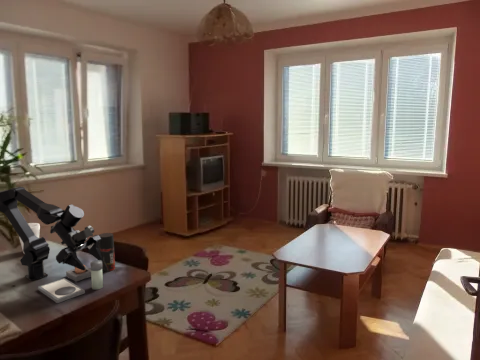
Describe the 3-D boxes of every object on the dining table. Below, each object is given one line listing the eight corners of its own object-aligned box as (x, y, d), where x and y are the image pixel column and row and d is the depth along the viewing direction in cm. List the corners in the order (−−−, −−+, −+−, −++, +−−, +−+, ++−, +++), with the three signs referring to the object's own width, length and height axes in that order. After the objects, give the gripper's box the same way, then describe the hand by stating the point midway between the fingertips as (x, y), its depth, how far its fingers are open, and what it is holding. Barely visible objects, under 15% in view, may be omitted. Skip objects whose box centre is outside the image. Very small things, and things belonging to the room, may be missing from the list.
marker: (89, 287, 142) (88, 262, 141) (99, 283, 146) (98, 259, 144) (95, 290, 140) (94, 265, 138) (105, 287, 143) (104, 262, 141)
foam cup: (28, 248, 186) (25, 222, 183) (46, 248, 185) (43, 223, 182) (15, 254, 176) (12, 228, 174) (33, 255, 175) (31, 228, 173)
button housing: (66, 276, 153) (66, 271, 152) (85, 270, 159) (84, 265, 158) (75, 281, 148) (75, 276, 147) (94, 275, 154) (94, 270, 153)
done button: (73, 272, 153) (72, 266, 152) (82, 269, 156) (82, 263, 155) (78, 275, 150) (77, 269, 150) (87, 272, 153) (87, 266, 153)
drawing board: (38, 289, 141) (37, 286, 140) (64, 280, 148) (64, 277, 148) (57, 303, 130) (56, 299, 130) (84, 293, 138) (84, 289, 138)
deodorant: (110, 272, 157) (108, 237, 154) (97, 271, 158) (95, 236, 155) (117, 266, 162) (115, 233, 160) (105, 265, 164) (103, 232, 161)
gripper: (59, 227, 132) (86, 261, 130) (95, 215, 149) (120, 244, 148) (44, 246, 136) (70, 279, 134) (81, 232, 153) (105, 261, 151)
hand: (93, 265), depth 142 cm, fingers open, 9 cm apart
